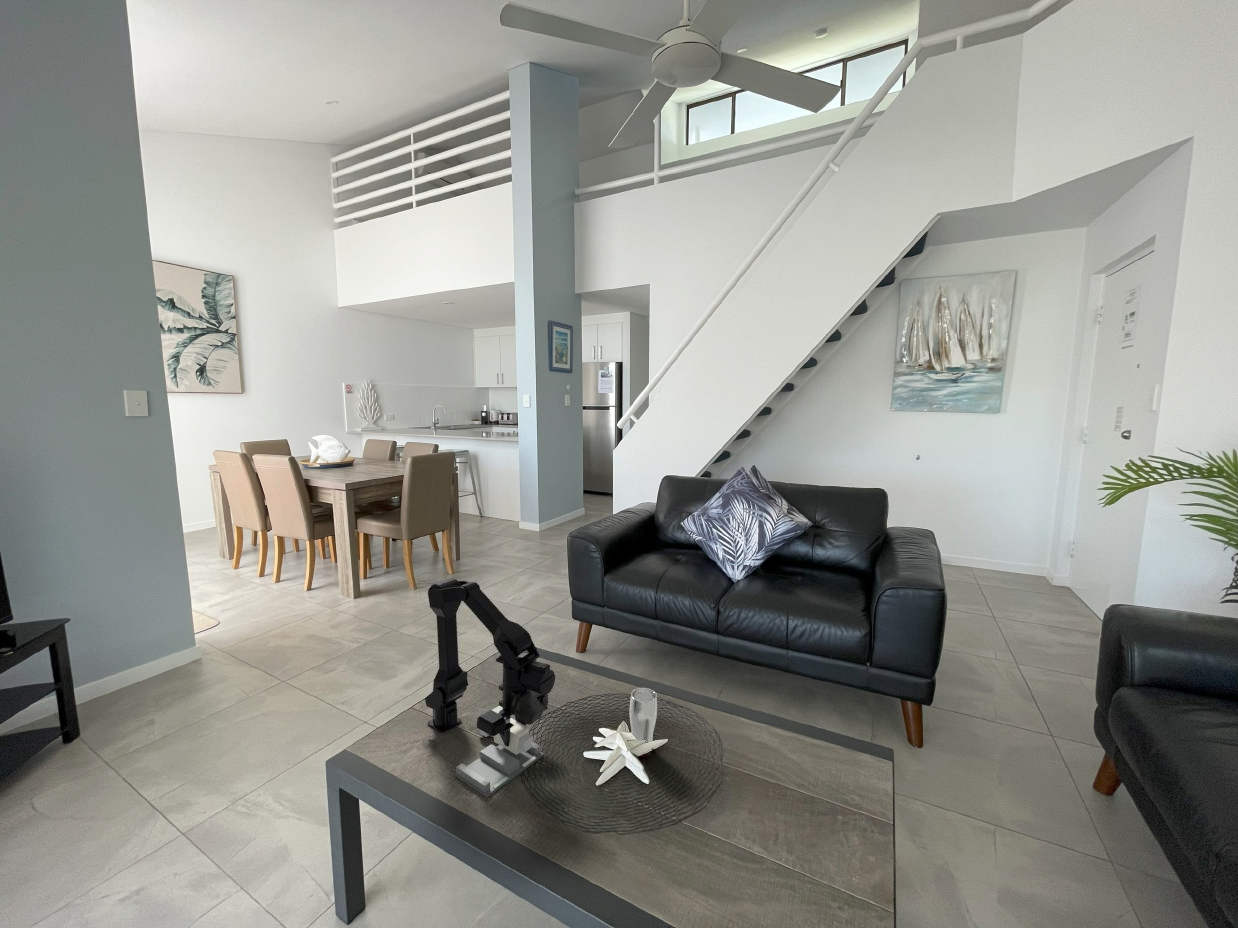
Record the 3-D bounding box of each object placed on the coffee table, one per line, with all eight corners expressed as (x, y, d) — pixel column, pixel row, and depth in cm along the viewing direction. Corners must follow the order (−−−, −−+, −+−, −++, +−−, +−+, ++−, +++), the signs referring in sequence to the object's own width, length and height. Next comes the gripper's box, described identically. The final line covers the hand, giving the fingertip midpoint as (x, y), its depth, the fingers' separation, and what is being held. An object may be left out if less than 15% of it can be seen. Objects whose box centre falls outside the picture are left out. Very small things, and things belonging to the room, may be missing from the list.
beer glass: (653, 760, 129) (655, 703, 128) (625, 756, 131) (627, 699, 129) (656, 743, 136) (659, 689, 134) (630, 739, 137) (632, 685, 136)
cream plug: (494, 741, 131) (494, 722, 130) (506, 733, 134) (506, 715, 133) (522, 758, 125) (522, 738, 124) (534, 749, 128) (534, 730, 128)
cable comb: (455, 776, 122) (455, 767, 121) (512, 737, 136) (513, 729, 136) (486, 797, 115) (487, 788, 115) (543, 755, 130) (543, 746, 130)
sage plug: (506, 718, 145) (506, 701, 144) (516, 723, 143) (516, 706, 142) (477, 735, 137) (477, 717, 136) (487, 741, 134) (487, 723, 134)
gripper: (508, 710, 115) (507, 776, 117) (564, 677, 131) (563, 735, 132) (475, 693, 122) (475, 755, 124) (532, 663, 137) (531, 719, 139)
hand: (513, 741), depth 129 cm, fingers closed on cream plug, 4 cm apart
